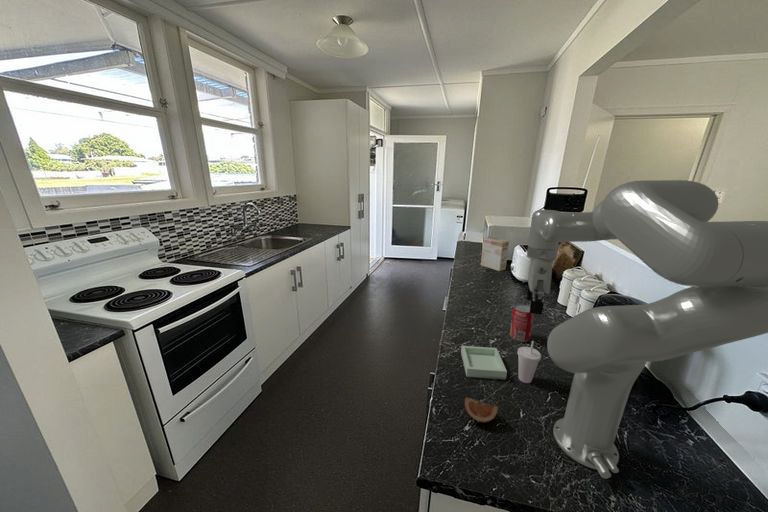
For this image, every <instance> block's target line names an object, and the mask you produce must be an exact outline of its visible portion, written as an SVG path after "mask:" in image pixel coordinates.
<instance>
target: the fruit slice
mask: <svg viewBox="0 0 768 512" xmlns="http://www.w3.org/2000/svg"><path fill="white" fill-rule="evenodd" d="M463 403H464V409H465V411H466V413H467V414H468V416H469V417H471V419H473V420H474V421H476V422H479V423H487V422H490V421H492V420H493V419H495V418H496V416H497V414H498V411H499V406H496V405H493V404H489V403H487V402H483V401H479V400H478V399H477V400H476V399H474V398H471V397H467V396H465V398H464V401H463Z"/></svg>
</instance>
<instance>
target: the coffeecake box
mask: <svg viewBox="0 0 768 512" xmlns="http://www.w3.org/2000/svg"><path fill="white" fill-rule="evenodd" d="M482 239H483V241H482V250H481V260H480V262H481V263H480V266H482V267H485V268H489V269H492V270H494V271H497V272H501V271H504V270H506V268H507V261H508V252H509V247H510V246H509V244H510V240H505V239H501V238H496V237H493V236H492V237H491V236H488V237H483V238H482Z"/></svg>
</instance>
